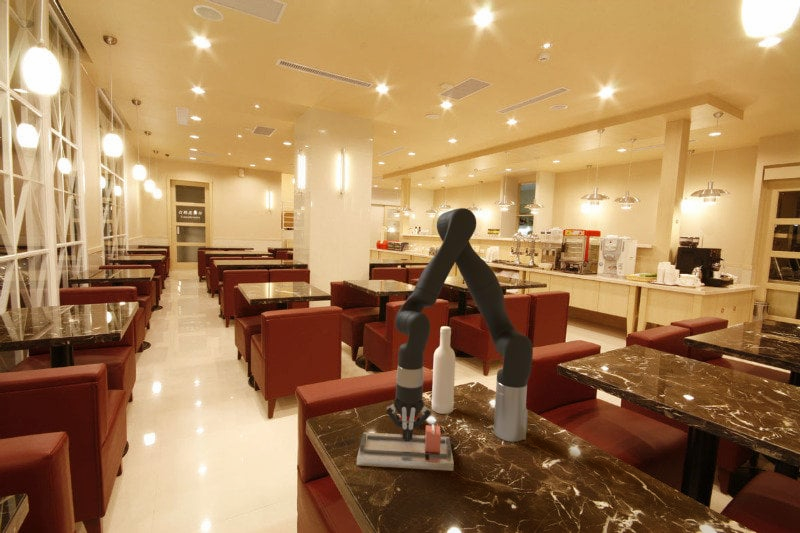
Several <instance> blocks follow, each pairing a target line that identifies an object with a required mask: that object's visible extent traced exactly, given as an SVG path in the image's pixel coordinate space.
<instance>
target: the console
mask: <svg viewBox="0 0 800 533" xmlns="http://www.w3.org/2000/svg"><path fill="white" fill-rule="evenodd" d="M402 436H403V433H402V434H401V433H387V432H386V433H383V432H382V433H380V432H363V433H362V436H361V440H360V444H359V447H358V448H359V449H358V453H357V456H356V466H363V467H382V468H397V469H398V468H400V469H401V468H402V469H414V470H415V469H416V470H417V469H419V470H435V471H449V472H450V471H452V472H453V471H454V466H455V465H454V456H453V452H452V451H453V450H452V446H451V439H450V438H451V437H450V436H441V443H440V453H437V452H426V448H425V435H417V434H413V436H412V440H410V442H405V439H403V438H402ZM407 437H408V434H407Z"/></svg>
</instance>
